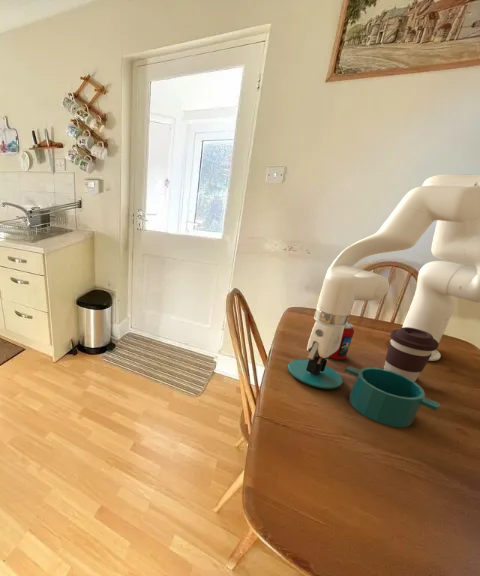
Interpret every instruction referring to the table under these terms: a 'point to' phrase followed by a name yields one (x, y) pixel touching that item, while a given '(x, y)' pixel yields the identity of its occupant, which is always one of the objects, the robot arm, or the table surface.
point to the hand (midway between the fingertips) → (315, 370)
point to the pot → (387, 396)
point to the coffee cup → (409, 351)
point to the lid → (323, 380)
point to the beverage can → (344, 342)
